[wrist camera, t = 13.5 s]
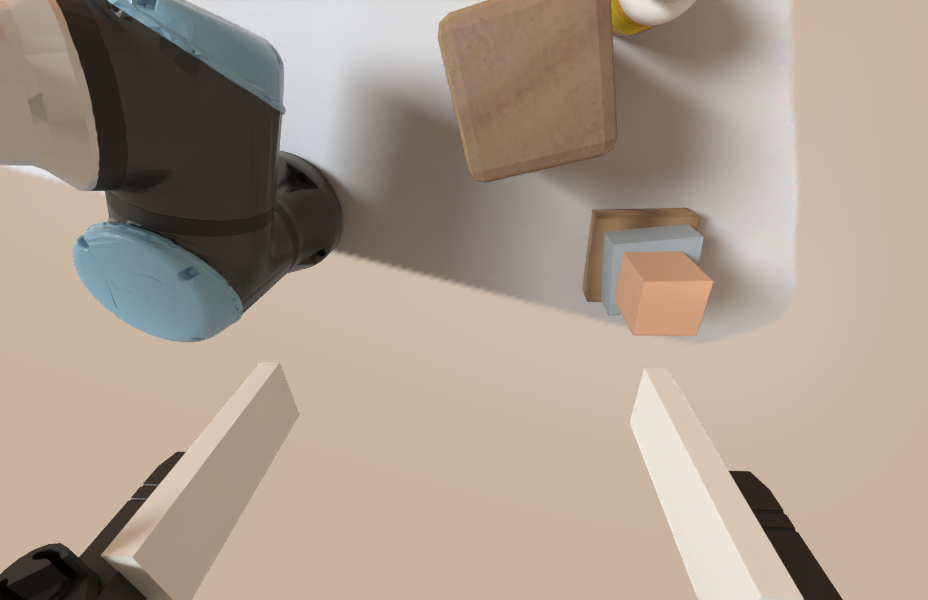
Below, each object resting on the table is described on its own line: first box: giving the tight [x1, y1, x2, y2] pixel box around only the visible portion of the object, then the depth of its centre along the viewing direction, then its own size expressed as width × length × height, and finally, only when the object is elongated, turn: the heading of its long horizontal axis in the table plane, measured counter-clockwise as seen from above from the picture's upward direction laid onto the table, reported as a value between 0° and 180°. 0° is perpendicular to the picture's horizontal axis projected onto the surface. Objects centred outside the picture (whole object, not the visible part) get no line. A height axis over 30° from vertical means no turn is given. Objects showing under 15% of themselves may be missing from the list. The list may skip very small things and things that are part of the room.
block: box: [438, 0, 617, 182], centre depth 31 cm, size 10×10×20 cm
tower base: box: [582, 208, 700, 302], centre depth 47 cm, size 11×11×4 cm
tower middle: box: [601, 224, 704, 315], centre depth 43 cm, size 9×9×4 cm
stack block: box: [615, 251, 714, 336], centre depth 39 cm, size 6×6×7 cm
